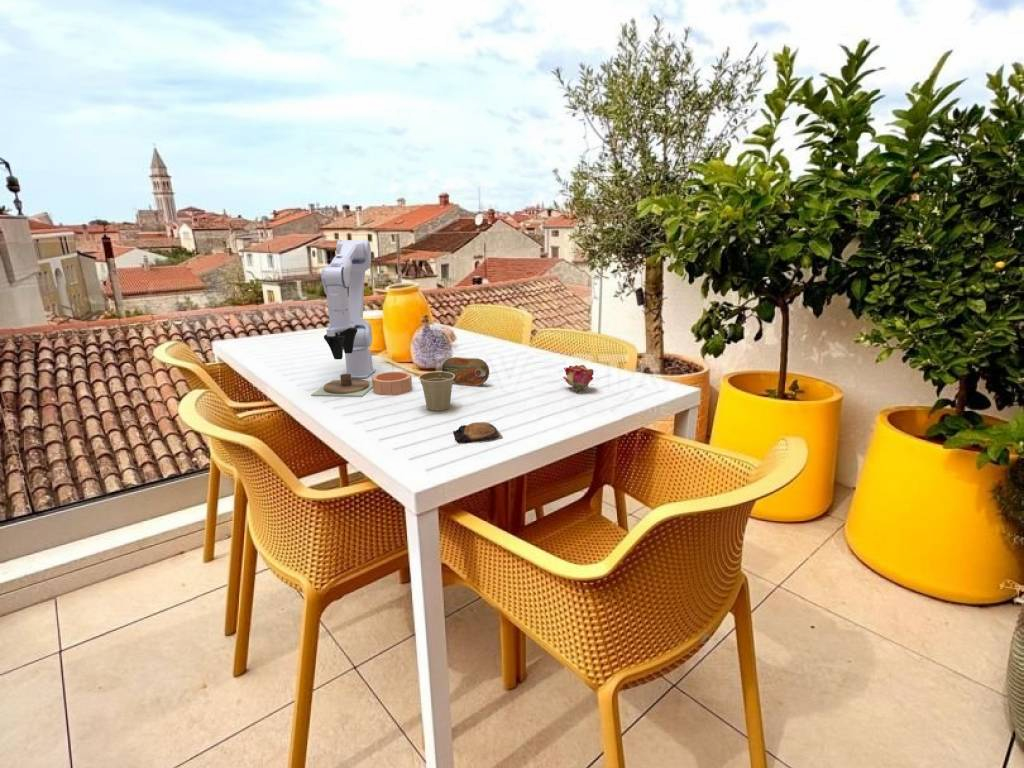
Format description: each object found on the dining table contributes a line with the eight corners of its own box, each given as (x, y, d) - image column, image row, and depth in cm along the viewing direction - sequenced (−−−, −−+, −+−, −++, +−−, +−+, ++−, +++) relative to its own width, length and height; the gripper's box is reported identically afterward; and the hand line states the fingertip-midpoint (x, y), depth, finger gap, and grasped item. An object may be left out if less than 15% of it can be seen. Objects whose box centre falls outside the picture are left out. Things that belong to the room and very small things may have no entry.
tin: (441, 383, 153) (440, 356, 151) (446, 380, 156) (445, 354, 154) (487, 387, 149) (486, 360, 146) (490, 384, 152) (490, 358, 149)
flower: (596, 391, 139) (598, 365, 142) (564, 384, 139) (567, 358, 141) (586, 400, 149) (589, 375, 151) (557, 394, 148) (560, 369, 150)
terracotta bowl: (380, 383, 153) (379, 371, 152) (415, 384, 152) (414, 371, 151) (368, 394, 142) (367, 381, 141) (405, 395, 142) (404, 381, 140)
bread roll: (495, 429, 119) (494, 414, 118) (504, 442, 111) (504, 426, 110) (451, 433, 116) (450, 418, 115) (457, 447, 108) (457, 431, 107)
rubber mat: (333, 381, 156) (332, 379, 156) (379, 381, 155) (379, 380, 155) (311, 395, 142) (311, 394, 141) (362, 396, 141) (362, 395, 140)
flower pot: (449, 414, 126) (448, 382, 124) (415, 412, 128) (413, 380, 126) (460, 402, 135) (459, 372, 133) (428, 400, 137) (426, 370, 135)
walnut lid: (334, 380, 155) (333, 369, 154) (375, 381, 154) (374, 369, 153) (316, 393, 142) (314, 380, 141) (360, 394, 141) (359, 381, 140)
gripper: (342, 313, 134) (347, 362, 138) (361, 306, 148) (365, 350, 152) (317, 313, 135) (322, 361, 139) (338, 306, 149) (343, 350, 152)
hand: (343, 356), depth 145 cm, fingers open, 7 cm apart
